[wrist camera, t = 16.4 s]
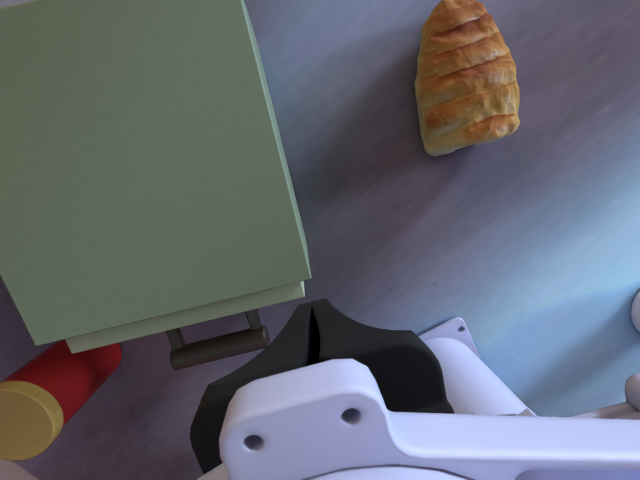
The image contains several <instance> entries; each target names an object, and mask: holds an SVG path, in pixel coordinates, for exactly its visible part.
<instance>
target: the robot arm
mask: <svg viewBox="0 0 640 480" xmlns="http://www.w3.org/2000/svg"><path fill="white" fill-rule="evenodd" d="M461 326H462V327H461ZM459 327H461V329H459V330H458V328H459ZM625 396H626V402H623V403H619V404H616V405H612V406H608V407H605V408H601V409H598V410H594V411H590V412H587V413H583V414H580V415H576V416H572V417H556V416H555V417H538V416H537V415H535V414H534V413H533V412H532V411H531V410H530V409H529V408H527V407H526V406H525V405H524V404H523V403H522V402H521V401H520V400H519V399H518V397H517V396H516V395H515V394H514V393H513V392H512V391H511V390H510V389H509V388H508V387H507V386H506V385H505V384H504V383H503V382H502V381H501V380H500V379H499V378H498V377H497V376H496V375H495V374H494V373H493V372H492V371H491V370H490V369H489V368H488V367H487V366H486V365H485V364H484V363H483V362H482V360H481V358H480V356H479V353H478V351H477V349H476V347H475V345H474V342H473V340H472V338H471V336H470V334H469V331H468V329H467V327H466V325H465V323H464V321H463V320H462V319H461V318H460V317H455V318H453V319H451V320H449V321H447V322H445V323H443V324H441V325H439V326H437V327H436V328H434V329H432V330H430V331H428V332H426V333H424V334H422V335H420V336H417V335H416V334H415V333H414V332H413V331H411V330H386V329H379V328H374V327H371V326H367V325H364V324H361V323H359V322H356V321H354V320H352V319H350V318H349V317H347V316H345V315H344V314H342V313H341V312H340V311H339V310H337V309H336V308H335V307H334V306H333V305H332V304H331V303H330V302H329V301H328V300H327V299H325V298H324V299H320V300H316V301H313V302H309V303H305V304H301V305H298V307H297V308H296V310H295V311H294V313H293V315H292V316H291V318H290V320H289V321H288V323H287V324H286V326H285V327H284V328H283V330H282V331H281V332H280V333H279V335H278V336H277V337H276V338H275V339H274V340H273V342H272V343H271V344H270V345H269V346H268V347H267V348H265V349H264V350H263V351H262V352H261V353H259V354H258V355H257V356H256V357H255V358H253V359H252V360H251V361H249V362H248V363H246V364H245V365H244V366H242V367H240V368H239V369H237V370H236V371H234V372H232V373H230V374H229V375H227V376H225V377H223V378H221V379H219V380H217V381H215V382H213V383H211V384H208V386H207V388H206V391H205V393H204V395H203V397H202V399H201V402H200V405H199V407H198V410H197V412H196V415H195V417H194V420H193V423H192V425H191V432H190V440H191V444H192V448H193V450H194V453H195V455H196V457H197V460H198V462H199V464H200V467H201V469H202V471H203V474H204V475H203V476H201V477H200V478H198V479H197V480H640V372H639V373H636V374H634V375H632V376H630V377H629V378H628V380H627V381H626V384H625Z"/></svg>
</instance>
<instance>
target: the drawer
mask: <svg viewBox="0 0 640 480" xmlns="http://www.w3.org/2000/svg"><path fill="white" fill-rule="evenodd" d="M302 297H305V292H304V281H301V282H297V283H293V284H289V285H285V286H281V287H277V288H273V289H268V290H264V291H260V292H256V293H252V294H248V295H244V296H240V297H236V298H232V299H228V300H223V301H219V302H215V303H211V304H207V305H203V306H199V307H195V308H191V309H187V310H183V311H178V312H174V313H170V314H166V315H162V316H158V317H154V318H150V319H146V320H142V321H138V322H133V323H129V324H125V325H121V326H117V327H113V328H109V329H105V330H101V331H97V332H92V333H88V334H84V335H80V336H76V337H72V338H68V339H65V340H66V342H67V344H68V346H69V349H70V351H71V353H72V354H74V353H78V352H82V351H86V350H90V349H94V348H98V347H102V346H106V345H110V344H115V343H119V342H123V341H127V340H131V339H135V338H139V337H143V336H147V335H151V334H155V333H159V332H163V331H166V333H167V336H168V338H169V341H170V344H171V346H172V350H171V353H170V361H171V365H172V367H173V368H174V369H175V370H179V369H183V368H187V367H191V366H195V365H199V364H203V363H207V362H211V361H215V360H219V359H223V358H227V357H231V356H235V355H239V354H243V353H247V352H251V351H255V350H259V349H263V348H267V347H268V346H269V344H270V339H269V333H268V330H267V327H266V326H265V325H262V326H261V322H260V319H259V315H258V312H257V308H261V307H265V306H269V305H273V304H277V303H282V302H286V301H290V300H294V299H298V298H302ZM241 312H246V315H247V319H248V322H249V325H250V329H246V330H242V331H238V332H234V333H230V334H226V335H222V336H218V337H214V338H209V339H205V340H201V341H197V342H193V343H189V344H185V341H184V339H183V336H182V333H181V331H180V327H184V326H188V325H192V324H196V323H200V322H204V321H208V320H212V319H216V318H220V317H225V316H229V315H233V314H237V313H241ZM184 344H185V345H184Z"/></svg>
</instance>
